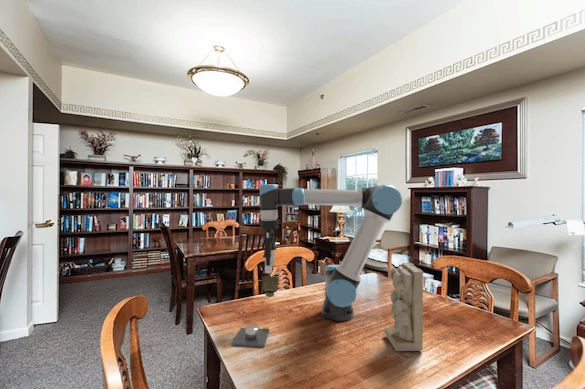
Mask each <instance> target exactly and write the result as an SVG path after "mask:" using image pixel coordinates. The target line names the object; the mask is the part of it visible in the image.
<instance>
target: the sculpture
mask: <svg viewBox="0 0 585 389" xmlns="http://www.w3.org/2000/svg"><path fill="white" fill-rule="evenodd" d="M389 279H390V280H392V286H393V288H394V290H391V291H390V293H391V294H389V295H390V296H389V297H390V301H391V303H392V306H391V308H390V311H391V312H392V319H393V320H394V322H393V325H394V326H386V327H384V334H385V337H386V338H387V339H388V341H389V342H390V344H391V345H392V347H393V348H394V350H395V351H396V352H417V351H419V352H420V351H423V345H424V344H423V341H424V340H423V337H424V336H423V333H424V330H423V328H424V325H423V324H424V321H423V320H424V318H423V317H424V315H423V314H424V312H423V311H424V271H423V270H422V269H421V268H418V267H417V266H415V264H414V263H412V262H402V263H401V265H399V266H398V268H397V269H396V268H391V269H389Z"/></svg>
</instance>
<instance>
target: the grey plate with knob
mask: <svg viewBox="0 0 585 389" xmlns="http://www.w3.org/2000/svg"><path fill="white" fill-rule="evenodd" d="M270 332H271V330H270V327H266V326H265V327H264V326H263V327H262V328H260V326H257V325H256V324H251V325H247V326H246V327H240V329H239V330H238V332H237V334H236V336H235V337H234V339H233V341H232V342H231V343H232V344H231V346H233V347H249V348H265V345H266V343H267V340H268V338H269V335H270Z"/></svg>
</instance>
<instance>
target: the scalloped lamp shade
mask: <svg viewBox="0 0 585 389" xmlns="http://www.w3.org/2000/svg"><path fill="white" fill-rule="evenodd" d="M279 282H280V277H279V276H278V275H275V276H274V275H271V274H269V275H262V276H261V285H262V287H261V288H262V290H263V292H265V297H267V298H273V297H274V296H275V293H277V290H278V287H279Z"/></svg>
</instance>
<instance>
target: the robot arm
mask: <svg viewBox="0 0 585 389" xmlns="http://www.w3.org/2000/svg"><path fill="white" fill-rule="evenodd" d="M402 202H403V197H402V194H401V192H400V190H398V189H397V188H396V187H394V186H393V185H389V184H381V185H376V186H371V187H360V188H359V189H330V188H329V189H325V188H324V189H321V188H319V189H318V188H317V189H315V188H313V189H312V188H303V187H290V188H287V187H286V188H279V187H278V185H277V184H275V183H270V184H269V183H267V184H266V183H265V184H261V185H260V186H259V211H260V212H258V215H260V229H261V230H262V231H263V230H265V232H264V246H263V248H264V250H263V251H264V252H263V253H264V254H263V255H262V259H263V258H264V267H265V268H264V274H272V273H273V266H275V265H276V255H275V254H276V251H275V250H277V247H276V243H275V230H276V229H278V228H279V223H278V222H279V221H278V220H277V219H278V218H279V214H278V213H279V212H278V207H279V206H280V207H281V206H285V207H286V206H289V207H290V206H293V207H294V206H297V207H298V206H307V205H308V206H309V205H310V206H335V207H337V206H338V207H339V206H340V207H358V208H359V209H362V210H363V212H364V216H363V218H362V220H361V222H360V224H359V227H358V229H357V230H356V232H355V235H354V237H353V239H352V241H351V243H350V244H349V246H348V249H347V251H346V253H345V255H344V257H343V259H342V262H341V263H340V264H328V265H326V266H325V270H324V274H325V276H324V278H325V279H324V280H325V281H324V282H325V283H324V284H325V285H324V286H325V290H324V293H325V294H324V299H323V303H322V305H321V312H320V313H321V316H322V317H324V318H325V319H327V320H331V321H334V322H335V321H336V322H344V321H350V320H352V319H353V318H354V316H355V312H354V305H353V303H354V302H355V300H356V298H357V289H358V287H359V285H360V282H361V281H362V279H361V276H360V274H361V273H362V270H363V268H364V266H365V264H366V263H367V260H368V258H369V256H370V254H371V252H372V250H373V249H374V248H373V247H374V245H375V243H376V242H377V240H378V237H379V235H380V234H381V231H382V229H383V227H384V225H385V224H387V223H390V222H391V219H392V218H393V216H394V213H395V214H396V212H398V210H400V208H401V206H402V204H403V203H402Z"/></svg>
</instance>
